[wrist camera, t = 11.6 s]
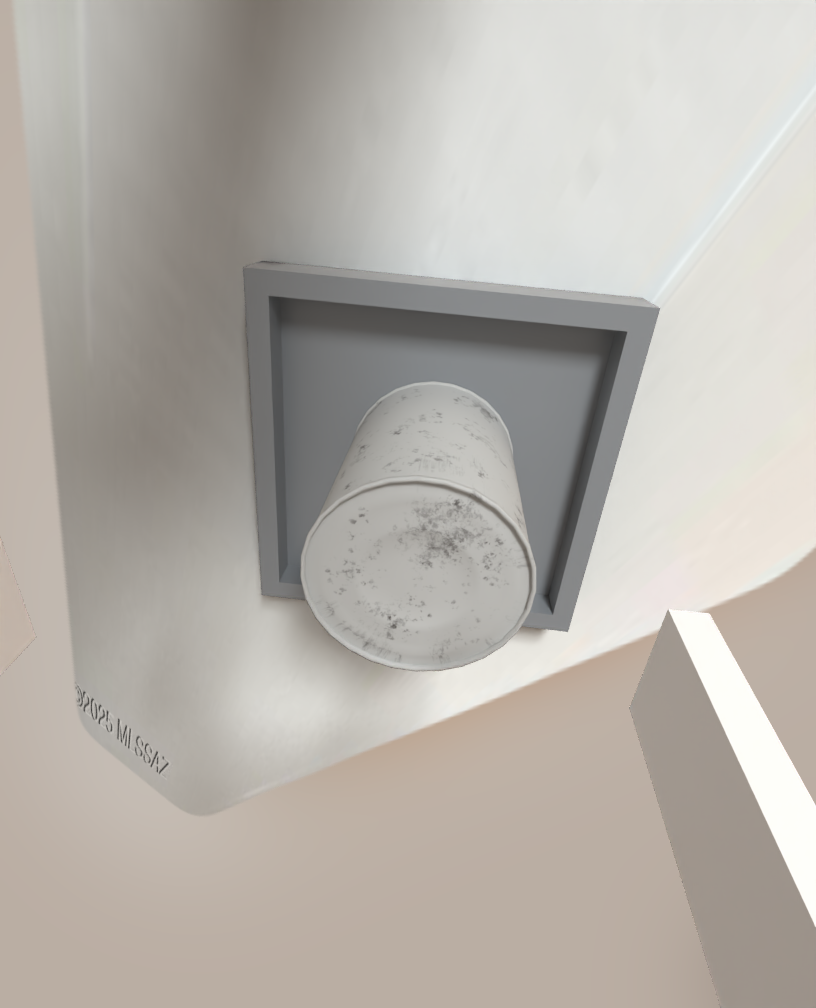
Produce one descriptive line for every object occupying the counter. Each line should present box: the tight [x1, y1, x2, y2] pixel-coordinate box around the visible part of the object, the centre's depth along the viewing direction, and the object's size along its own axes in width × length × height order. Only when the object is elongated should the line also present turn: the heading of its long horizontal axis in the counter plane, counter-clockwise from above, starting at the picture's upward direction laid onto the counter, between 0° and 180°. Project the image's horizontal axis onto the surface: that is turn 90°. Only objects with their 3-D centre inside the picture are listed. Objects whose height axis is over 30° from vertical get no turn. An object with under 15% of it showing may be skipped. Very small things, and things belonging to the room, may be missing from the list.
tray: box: [243, 261, 660, 632], centre depth 33 cm, size 20×20×3 cm
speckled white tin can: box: [300, 381, 536, 671], centre depth 28 cm, size 10×10×12 cm
